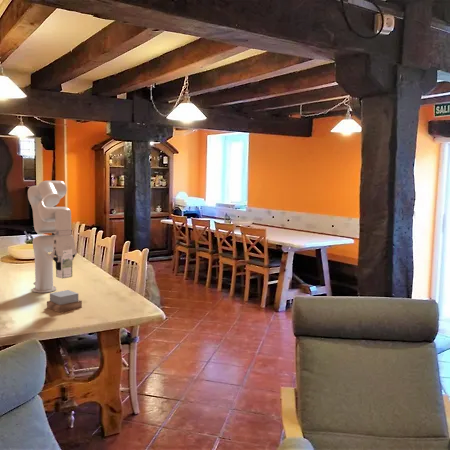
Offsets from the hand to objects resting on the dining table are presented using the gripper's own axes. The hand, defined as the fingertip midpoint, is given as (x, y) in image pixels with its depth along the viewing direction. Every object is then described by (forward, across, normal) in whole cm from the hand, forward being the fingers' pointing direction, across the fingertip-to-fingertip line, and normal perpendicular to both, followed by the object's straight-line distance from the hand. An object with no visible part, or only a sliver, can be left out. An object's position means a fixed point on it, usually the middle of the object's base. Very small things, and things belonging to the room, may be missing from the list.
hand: (64, 268), depth 234 cm
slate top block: (+17, 0, +1) cm, 17 cm away
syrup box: (+5, 0, 0) cm, 5 cm away
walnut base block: (+21, 0, +1) cm, 21 cm away
